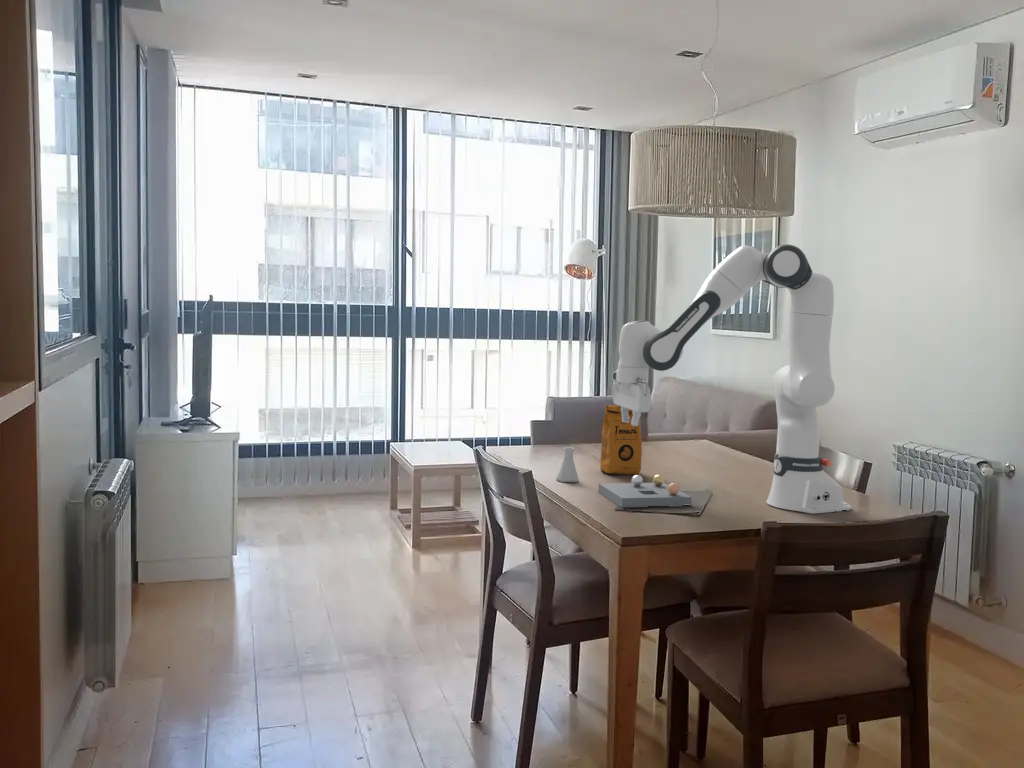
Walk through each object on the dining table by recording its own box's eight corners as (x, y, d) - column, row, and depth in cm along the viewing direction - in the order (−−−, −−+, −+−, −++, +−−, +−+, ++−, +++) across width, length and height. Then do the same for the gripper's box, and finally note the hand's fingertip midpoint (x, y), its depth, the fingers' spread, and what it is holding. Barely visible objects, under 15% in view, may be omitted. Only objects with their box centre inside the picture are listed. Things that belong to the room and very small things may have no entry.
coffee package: (643, 476, 262) (647, 407, 260) (604, 476, 260) (608, 406, 258) (634, 470, 272) (638, 403, 270) (597, 469, 270) (601, 402, 268)
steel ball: (639, 484, 237) (640, 473, 237) (644, 487, 234) (644, 476, 234) (629, 485, 236) (630, 473, 236) (633, 487, 233) (634, 476, 233)
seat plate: (662, 491, 242) (663, 482, 241) (690, 506, 224) (691, 496, 224) (598, 492, 237) (598, 483, 236) (621, 507, 219) (622, 498, 219)
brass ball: (660, 484, 239) (661, 473, 238) (665, 487, 236) (666, 475, 235) (650, 484, 238) (651, 473, 238) (655, 487, 235) (655, 476, 234)
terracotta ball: (675, 493, 228) (676, 481, 228) (681, 495, 225) (681, 484, 225) (665, 493, 227) (665, 481, 227) (670, 496, 224) (670, 484, 224)
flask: (559, 483, 247) (561, 450, 246) (552, 478, 254) (553, 446, 253) (582, 483, 249) (584, 450, 248) (574, 478, 256) (576, 445, 255)
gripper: (657, 380, 230) (654, 429, 231) (629, 373, 250) (627, 419, 251) (636, 379, 229) (633, 429, 230) (609, 373, 248) (607, 419, 250)
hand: (629, 424), depth 241 cm, fingers open, 5 cm apart
